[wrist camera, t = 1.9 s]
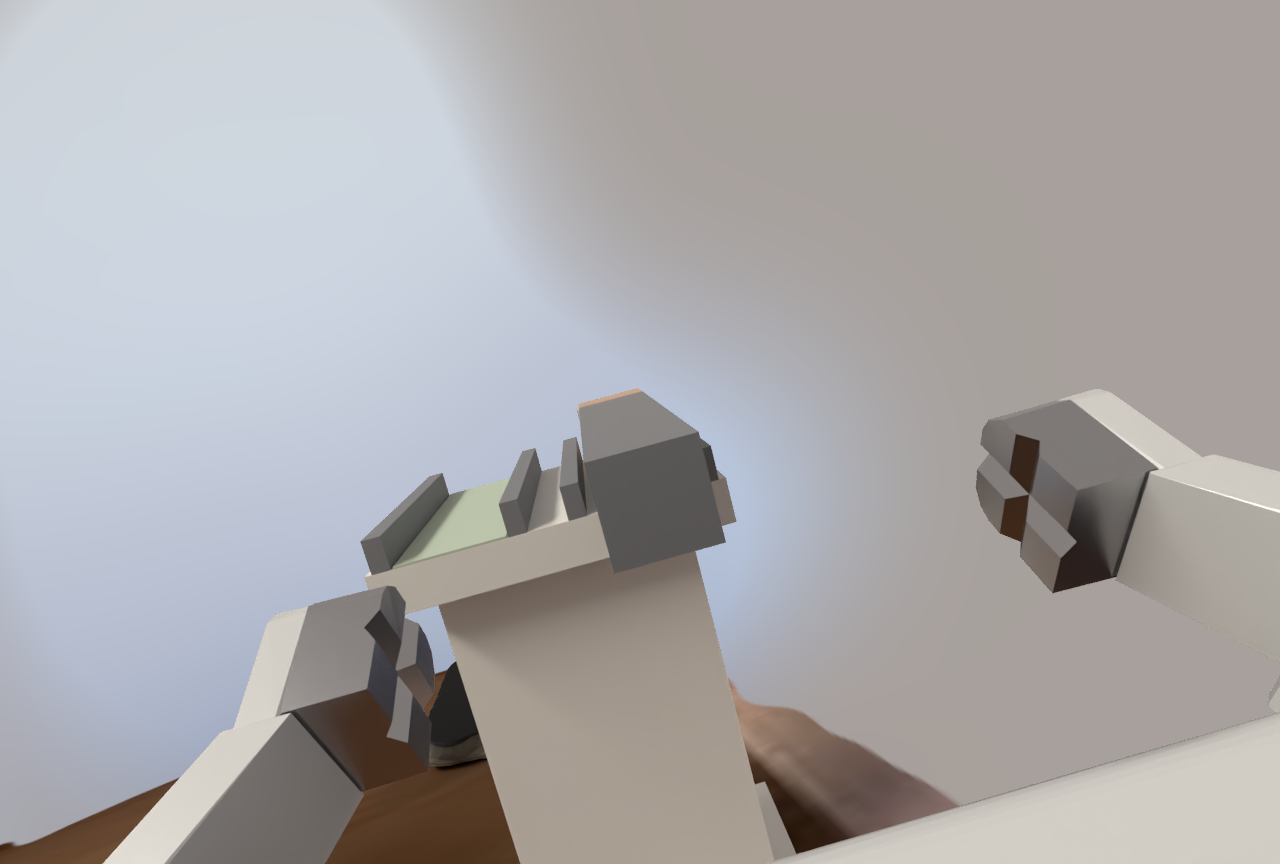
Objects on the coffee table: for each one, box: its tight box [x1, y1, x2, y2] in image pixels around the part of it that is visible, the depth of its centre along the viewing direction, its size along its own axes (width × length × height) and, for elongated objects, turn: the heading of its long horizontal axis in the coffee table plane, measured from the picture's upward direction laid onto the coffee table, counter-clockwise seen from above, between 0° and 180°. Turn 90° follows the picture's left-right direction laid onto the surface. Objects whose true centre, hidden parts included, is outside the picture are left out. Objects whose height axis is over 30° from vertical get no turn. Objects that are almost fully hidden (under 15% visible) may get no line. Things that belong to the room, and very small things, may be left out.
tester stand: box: [361, 408, 796, 864], centre depth 38 cm, size 16×14×29 cm
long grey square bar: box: [579, 388, 726, 574], centre depth 31 cm, size 4×20×4 cm, turn 5°
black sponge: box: [428, 662, 487, 766], centre depth 69 cm, size 16×8×4 cm, turn 3°
